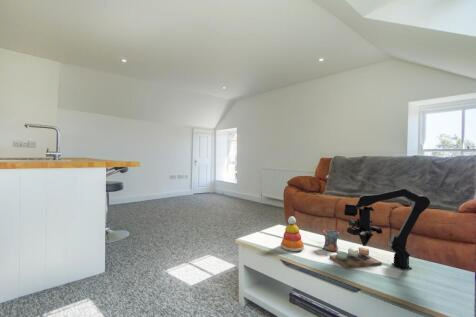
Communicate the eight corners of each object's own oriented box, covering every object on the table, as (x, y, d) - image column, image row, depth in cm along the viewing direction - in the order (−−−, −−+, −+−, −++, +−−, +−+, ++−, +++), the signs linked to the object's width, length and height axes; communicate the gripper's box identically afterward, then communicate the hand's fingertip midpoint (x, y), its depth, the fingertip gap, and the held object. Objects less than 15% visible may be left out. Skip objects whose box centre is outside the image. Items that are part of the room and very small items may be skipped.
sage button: (342, 255, 130) (342, 250, 130) (349, 259, 125) (349, 254, 125) (335, 255, 128) (335, 251, 128) (341, 259, 123) (341, 255, 123)
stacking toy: (309, 249, 142) (309, 217, 142) (293, 254, 134) (293, 220, 134) (291, 242, 154) (292, 213, 154) (275, 246, 146) (276, 215, 146)
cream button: (353, 252, 131) (353, 248, 131) (360, 256, 126) (360, 251, 126) (346, 253, 130) (346, 248, 130) (352, 256, 125) (352, 252, 125)
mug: (336, 253, 137) (336, 235, 137) (320, 249, 143) (320, 232, 143) (342, 247, 147) (342, 231, 147) (327, 244, 152) (327, 228, 153)
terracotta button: (364, 251, 133) (364, 247, 133) (371, 255, 128) (371, 250, 128) (356, 252, 132) (356, 247, 132) (363, 255, 127) (363, 251, 127)
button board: (362, 255, 136) (363, 251, 136) (381, 265, 123) (381, 261, 123) (329, 258, 130) (329, 254, 130) (345, 268, 118) (345, 264, 118)
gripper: (367, 213, 140) (367, 240, 140) (340, 215, 136) (339, 241, 135) (383, 218, 129) (382, 246, 129) (354, 219, 125) (353, 249, 125)
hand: (364, 245), depth 130 cm, fingers closed
